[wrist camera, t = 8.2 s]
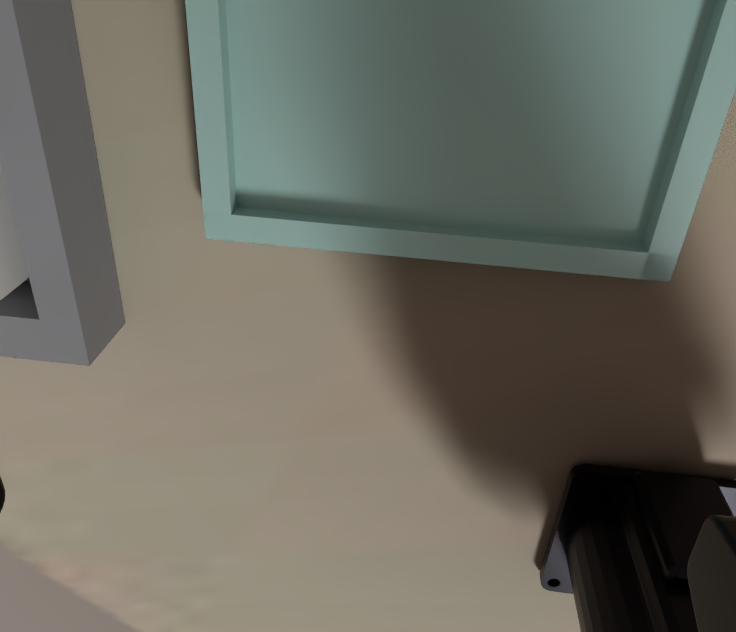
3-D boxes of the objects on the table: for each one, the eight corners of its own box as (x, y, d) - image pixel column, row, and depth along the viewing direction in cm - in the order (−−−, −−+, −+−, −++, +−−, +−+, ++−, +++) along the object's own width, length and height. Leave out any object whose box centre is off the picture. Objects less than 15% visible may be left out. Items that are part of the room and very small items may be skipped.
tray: (796, -169, 13) (826, -179, 12) (657, 263, 18) (670, 281, 17) (187, -200, 14) (167, -211, 13) (218, 222, 19) (205, 238, 18)
